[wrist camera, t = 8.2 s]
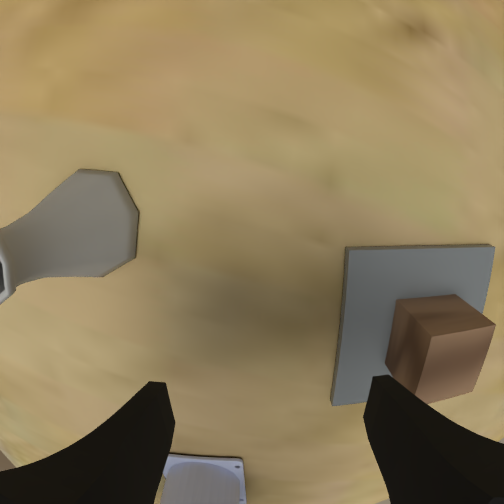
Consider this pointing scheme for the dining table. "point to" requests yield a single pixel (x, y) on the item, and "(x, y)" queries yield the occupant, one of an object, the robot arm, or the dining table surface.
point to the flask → (71, 232)
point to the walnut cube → (437, 346)
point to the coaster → (384, 300)
